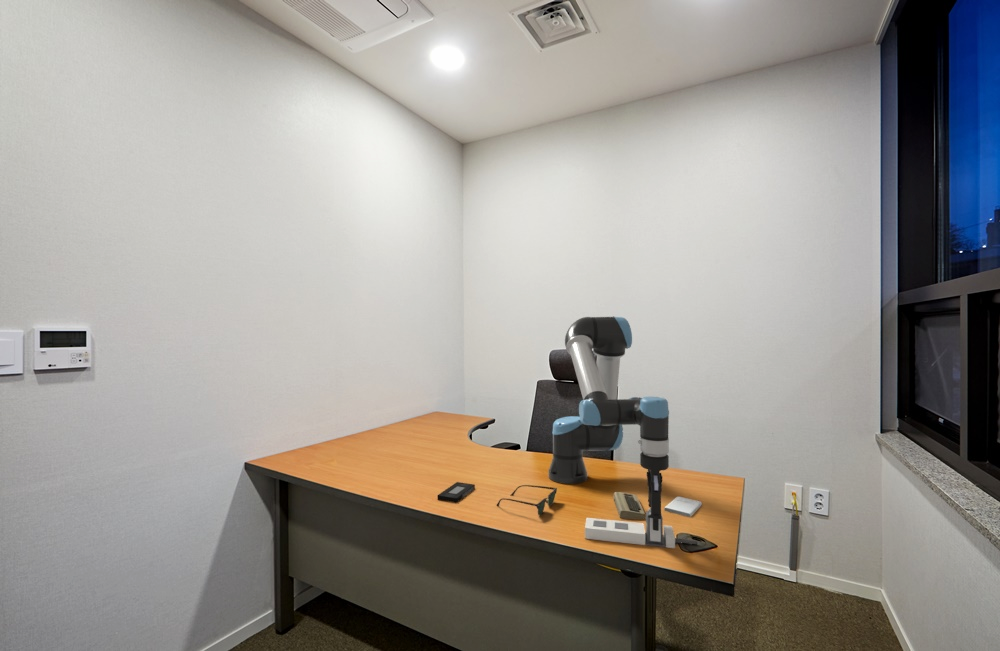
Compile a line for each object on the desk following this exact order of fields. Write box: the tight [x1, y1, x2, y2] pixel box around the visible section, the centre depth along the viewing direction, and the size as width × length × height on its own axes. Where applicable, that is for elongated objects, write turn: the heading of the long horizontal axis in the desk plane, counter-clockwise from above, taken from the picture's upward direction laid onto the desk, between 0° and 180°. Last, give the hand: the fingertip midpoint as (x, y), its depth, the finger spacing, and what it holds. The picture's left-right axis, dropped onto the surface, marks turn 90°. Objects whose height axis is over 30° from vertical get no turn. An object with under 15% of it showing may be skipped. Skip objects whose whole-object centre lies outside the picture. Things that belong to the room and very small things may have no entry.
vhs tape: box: [437, 481, 476, 504], centre depth 164 cm, size 8×14×2 cm, turn 157°
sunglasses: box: [496, 484, 558, 516], centre depth 154 cm, size 16×17×5 cm
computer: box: [612, 491, 646, 520], centre depth 150 cm, size 16×8×3 cm, turn 173°
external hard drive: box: [663, 496, 703, 518], centre depth 151 cm, size 2×8×12 cm
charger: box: [645, 510, 664, 543], centre depth 128 cm, size 4×4×7 cm
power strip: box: [584, 517, 698, 549], centre depth 129 cm, size 7×30×3 cm, turn 76°
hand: (654, 535), depth 128 cm, fingers open, 5 cm apart
